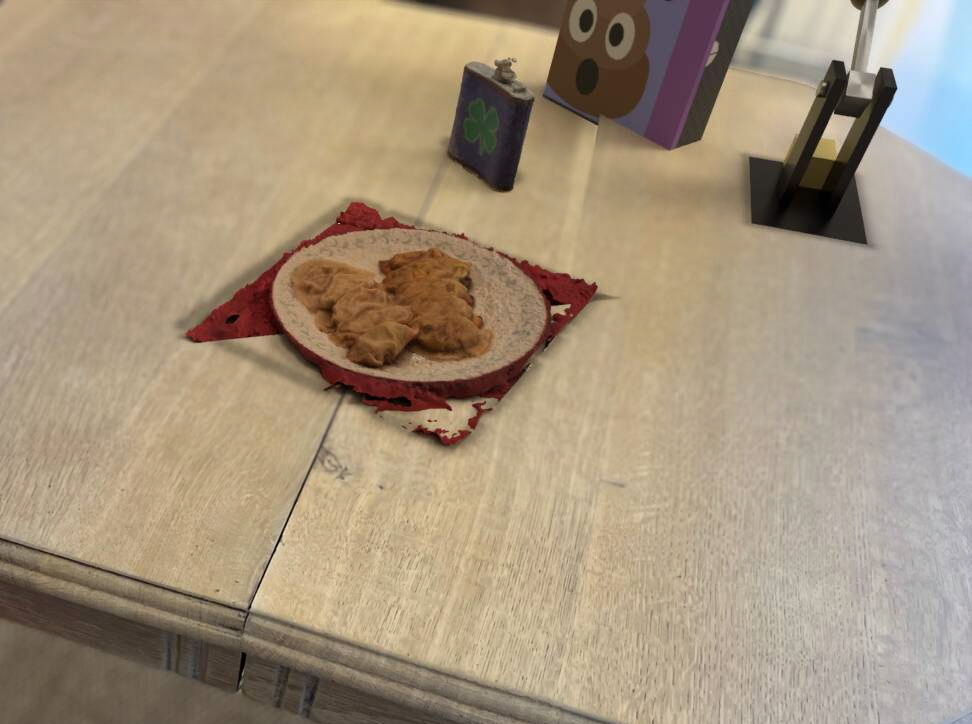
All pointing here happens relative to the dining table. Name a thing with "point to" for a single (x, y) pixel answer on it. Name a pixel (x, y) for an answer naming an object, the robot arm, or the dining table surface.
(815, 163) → the butter
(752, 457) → the dining table surface
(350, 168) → the dining table surface
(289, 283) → the plate with food
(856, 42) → the slicer arm
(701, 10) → the cereal box
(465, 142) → the flask
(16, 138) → the dining table surface
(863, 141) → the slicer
